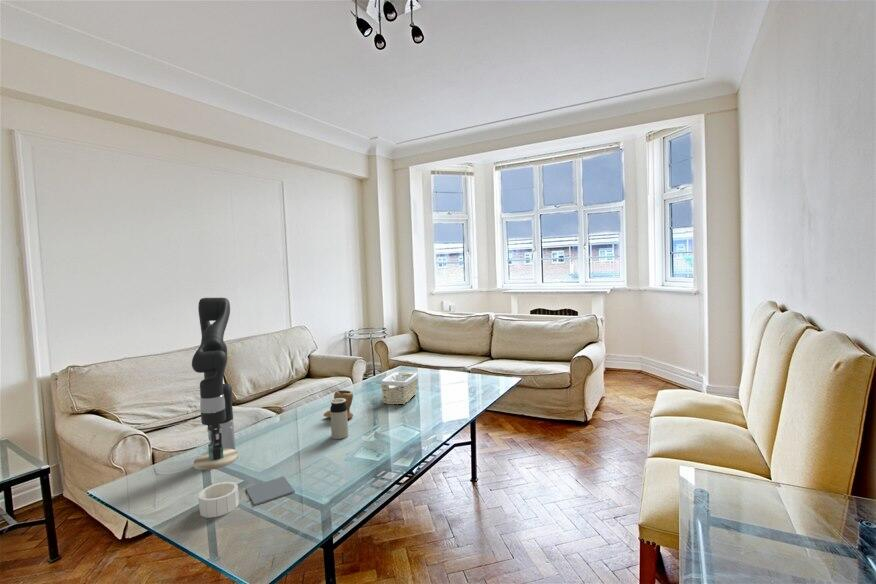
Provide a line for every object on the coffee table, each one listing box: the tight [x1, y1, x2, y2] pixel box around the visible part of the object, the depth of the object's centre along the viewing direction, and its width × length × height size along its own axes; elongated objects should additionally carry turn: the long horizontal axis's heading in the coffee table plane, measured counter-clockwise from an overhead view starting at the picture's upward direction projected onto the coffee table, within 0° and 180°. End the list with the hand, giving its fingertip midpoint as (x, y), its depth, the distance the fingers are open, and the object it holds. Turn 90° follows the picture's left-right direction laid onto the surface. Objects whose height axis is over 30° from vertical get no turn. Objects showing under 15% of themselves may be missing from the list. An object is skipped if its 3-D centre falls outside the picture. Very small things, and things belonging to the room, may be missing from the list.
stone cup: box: [323, 389, 354, 420], centre depth 234 cm, size 15×12×15 cm
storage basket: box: [380, 371, 418, 405], centre depth 263 cm, size 24×16×15 cm
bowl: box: [197, 481, 240, 519], centre depth 148 cm, size 12×12×6 cm
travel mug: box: [329, 398, 349, 440], centre depth 207 cm, size 8×8×18 cm
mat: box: [245, 476, 296, 507], centre depth 158 cm, size 14×14×1 cm
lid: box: [193, 443, 239, 471], centre depth 147 cm, size 14×14×6 cm
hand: (216, 456), depth 147 cm, fingers closed on lid, 4 cm apart
